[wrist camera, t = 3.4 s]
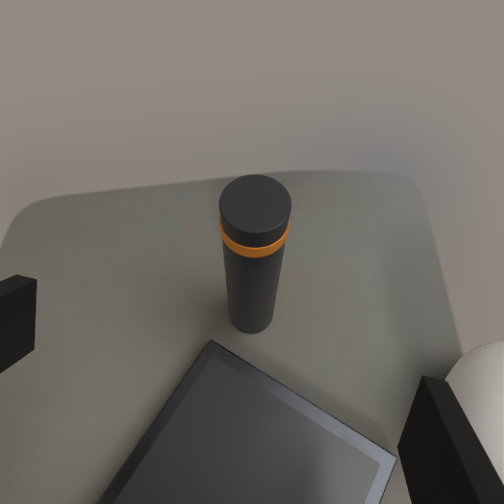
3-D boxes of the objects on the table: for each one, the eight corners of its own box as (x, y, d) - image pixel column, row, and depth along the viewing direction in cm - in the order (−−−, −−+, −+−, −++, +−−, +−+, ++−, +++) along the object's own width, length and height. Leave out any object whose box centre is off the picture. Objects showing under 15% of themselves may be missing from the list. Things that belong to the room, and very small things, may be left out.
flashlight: (219, 319, 26) (202, 211, 15) (244, 284, 27) (243, 162, 16) (258, 343, 25) (268, 247, 15) (281, 306, 26) (306, 192, 16)
